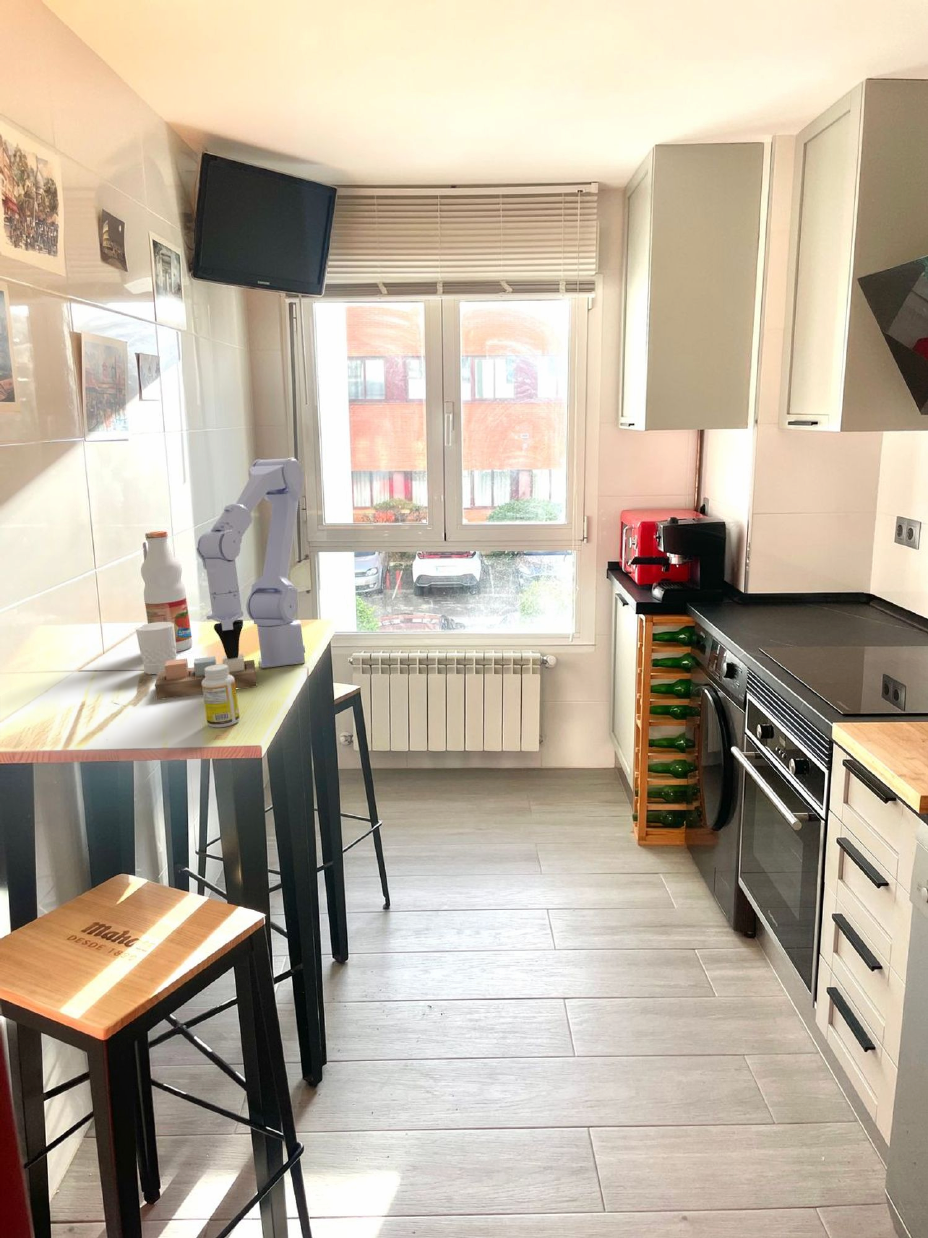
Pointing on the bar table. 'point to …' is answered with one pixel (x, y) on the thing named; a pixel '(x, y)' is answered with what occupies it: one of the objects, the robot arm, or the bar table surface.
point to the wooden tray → (200, 682)
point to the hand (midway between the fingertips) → (232, 657)
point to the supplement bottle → (220, 696)
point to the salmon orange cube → (176, 669)
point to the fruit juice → (165, 589)
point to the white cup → (156, 645)
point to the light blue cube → (203, 665)
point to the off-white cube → (234, 663)
